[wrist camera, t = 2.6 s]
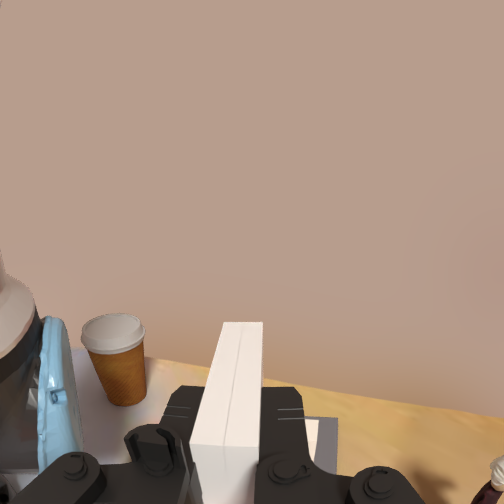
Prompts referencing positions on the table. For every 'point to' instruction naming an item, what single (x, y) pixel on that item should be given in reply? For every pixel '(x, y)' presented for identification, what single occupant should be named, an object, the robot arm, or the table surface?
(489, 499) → the grandmother figurine
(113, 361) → the disposable coffee cup
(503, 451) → the table surface
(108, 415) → the table surface
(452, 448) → the table surface
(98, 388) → the table surface
